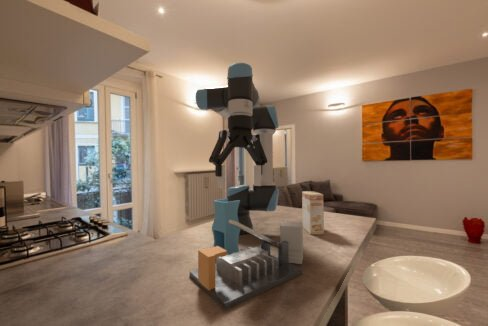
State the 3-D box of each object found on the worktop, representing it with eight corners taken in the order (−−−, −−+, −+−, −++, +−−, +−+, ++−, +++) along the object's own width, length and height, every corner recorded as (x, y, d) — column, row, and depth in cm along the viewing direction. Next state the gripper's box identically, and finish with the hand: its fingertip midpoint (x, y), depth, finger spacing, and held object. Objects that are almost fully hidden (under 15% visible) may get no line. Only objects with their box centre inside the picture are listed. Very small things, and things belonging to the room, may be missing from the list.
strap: (226, 222, 66) (228, 217, 67) (268, 243, 77) (270, 239, 77) (237, 227, 62) (239, 221, 62) (281, 248, 72) (282, 244, 73)
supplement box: (303, 256, 81) (303, 221, 81) (302, 264, 74) (301, 227, 74) (283, 253, 83) (283, 220, 83) (280, 262, 76) (279, 225, 76)
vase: (240, 251, 85) (240, 200, 86) (225, 258, 80) (225, 202, 80) (227, 247, 91) (226, 198, 91) (211, 252, 85) (211, 200, 85)
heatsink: (189, 276, 66) (189, 247, 67) (259, 253, 83) (259, 231, 84) (225, 310, 51) (224, 272, 51) (302, 273, 67) (301, 245, 68)
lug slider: (198, 280, 61) (198, 250, 61) (217, 274, 64) (216, 245, 64) (208, 290, 56) (208, 257, 56) (228, 282, 59) (228, 251, 60)
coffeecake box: (324, 234, 106) (324, 194, 106) (309, 234, 106) (309, 194, 107) (315, 226, 121) (314, 191, 121) (302, 226, 121) (301, 191, 122)
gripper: (209, 107, 56) (210, 190, 55) (277, 119, 71) (278, 185, 71) (196, 113, 62) (196, 188, 61) (262, 123, 77) (262, 184, 77)
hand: (240, 187), depth 66 cm, fingers open, 13 cm apart
